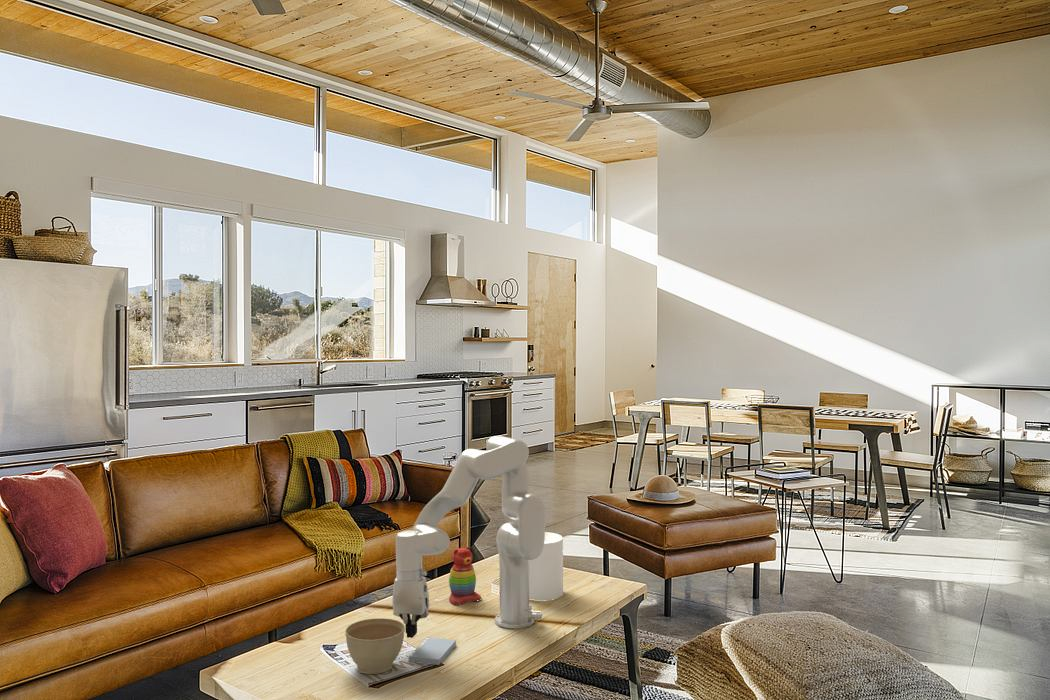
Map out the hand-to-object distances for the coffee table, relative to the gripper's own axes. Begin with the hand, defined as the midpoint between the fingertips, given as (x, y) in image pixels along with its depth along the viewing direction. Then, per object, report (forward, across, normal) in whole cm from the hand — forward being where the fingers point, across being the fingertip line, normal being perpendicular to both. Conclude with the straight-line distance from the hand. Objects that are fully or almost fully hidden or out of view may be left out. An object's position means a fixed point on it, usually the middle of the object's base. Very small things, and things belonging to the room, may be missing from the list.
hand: (411, 635), depth 221 cm
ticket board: (+4, -7, +2) cm, 8 cm away
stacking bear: (+5, -1, -43) cm, 43 cm away
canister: (+6, -26, -55) cm, 61 cm away
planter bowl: (+4, +5, +14) cm, 16 cm away
